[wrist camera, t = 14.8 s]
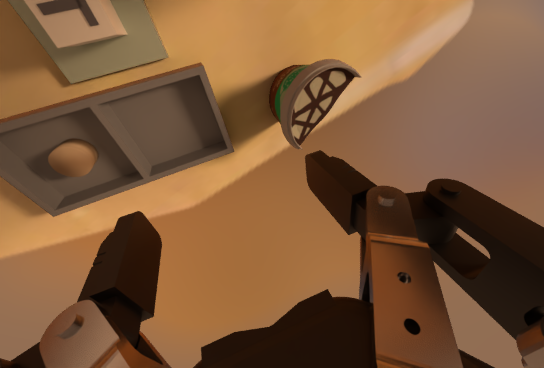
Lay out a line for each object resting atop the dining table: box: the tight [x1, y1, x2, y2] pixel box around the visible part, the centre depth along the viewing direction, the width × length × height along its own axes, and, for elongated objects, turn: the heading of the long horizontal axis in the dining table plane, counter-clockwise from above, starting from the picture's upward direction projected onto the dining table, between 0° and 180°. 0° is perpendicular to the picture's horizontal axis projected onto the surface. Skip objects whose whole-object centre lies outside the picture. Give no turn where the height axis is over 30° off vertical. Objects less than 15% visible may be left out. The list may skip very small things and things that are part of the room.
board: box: [8, 0, 168, 84], centre depth 21 cm, size 11×11×1 cm
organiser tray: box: [0, 63, 234, 217], centre depth 28 cm, size 12×26×4 cm, turn 105°
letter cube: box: [24, 0, 128, 48], centre depth 19 cm, size 5×5×5 cm
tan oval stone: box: [48, 138, 99, 177], centre depth 27 cm, size 4×4×3 cm
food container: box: [269, 59, 361, 149], centre depth 29 cm, size 12×6×10 cm, turn 142°
